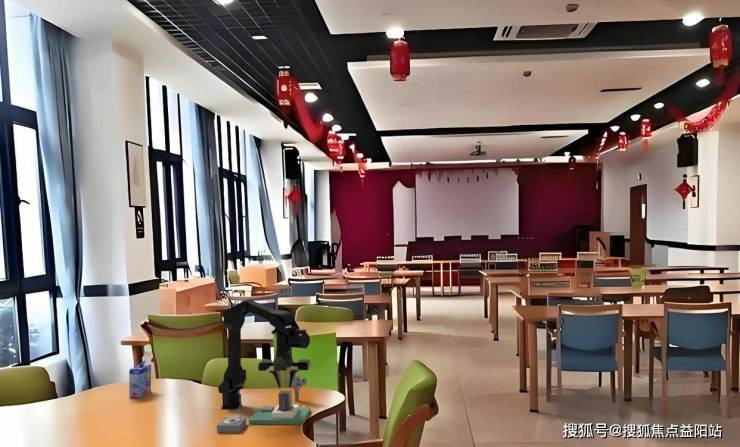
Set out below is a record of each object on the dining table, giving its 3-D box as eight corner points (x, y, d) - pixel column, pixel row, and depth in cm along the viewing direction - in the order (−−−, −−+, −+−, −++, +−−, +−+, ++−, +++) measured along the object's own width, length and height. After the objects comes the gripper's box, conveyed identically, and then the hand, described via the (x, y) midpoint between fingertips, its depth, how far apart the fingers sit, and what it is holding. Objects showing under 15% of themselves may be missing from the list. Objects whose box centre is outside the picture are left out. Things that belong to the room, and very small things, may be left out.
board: (248, 424, 200) (248, 414, 200) (259, 411, 214) (259, 402, 214) (303, 424, 199) (303, 414, 199) (310, 411, 213) (310, 402, 213)
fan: (217, 432, 193) (216, 424, 193) (224, 424, 201) (224, 416, 201) (239, 432, 193) (239, 424, 193) (246, 424, 201) (246, 416, 201)
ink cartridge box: (141, 398, 236) (140, 364, 236) (128, 398, 237) (127, 364, 237) (152, 391, 246) (151, 358, 246) (140, 391, 247) (139, 358, 247)
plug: (278, 416, 204) (277, 394, 204) (281, 411, 209) (281, 390, 209) (289, 416, 203) (288, 394, 203) (292, 411, 208) (291, 390, 208)
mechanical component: (303, 403, 222) (302, 378, 222) (285, 399, 228) (284, 375, 229) (308, 401, 225) (307, 377, 225) (290, 397, 231) (289, 373, 231)
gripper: (253, 351, 199) (254, 394, 199) (304, 350, 198) (305, 394, 198) (261, 344, 210) (262, 385, 210) (310, 344, 209) (311, 385, 209)
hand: (285, 388), depth 207 cm, fingers open, 4 cm apart
